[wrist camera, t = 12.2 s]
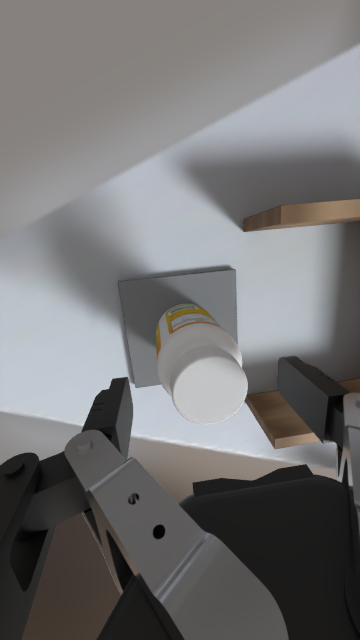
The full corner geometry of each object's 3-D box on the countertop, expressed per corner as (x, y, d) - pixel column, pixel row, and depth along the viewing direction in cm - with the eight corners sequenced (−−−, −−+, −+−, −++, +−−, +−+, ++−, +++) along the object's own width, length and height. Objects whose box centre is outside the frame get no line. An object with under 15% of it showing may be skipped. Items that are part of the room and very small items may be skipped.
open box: (397, 205, 21) (491, 187, 15) (369, 384, 26) (431, 422, 20) (243, 219, 20) (281, 205, 14) (246, 403, 25) (274, 449, 19)
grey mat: (233, 269, 21) (235, 269, 20) (236, 370, 24) (238, 373, 23) (118, 281, 20) (117, 282, 19) (136, 385, 23) (135, 388, 22)
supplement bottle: (190, 369, 22) (217, 452, 13) (143, 338, 21) (136, 406, 12) (226, 325, 22) (282, 379, 12) (180, 290, 20) (203, 321, 11)
